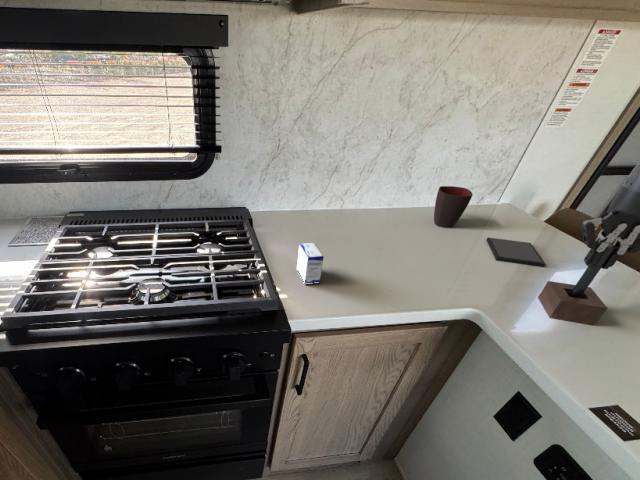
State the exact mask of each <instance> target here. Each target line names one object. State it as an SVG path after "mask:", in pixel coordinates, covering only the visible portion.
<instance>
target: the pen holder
mask: <svg viewBox="0 0 640 480" xmlns="http://www.w3.org/2000/svg"><path fill="white" fill-rule="evenodd" d="M575 285H576V284H573V283H566V282H565V283H564V282H557V281H553V280H547V281H546V283H545V285H544V287H543V288H542V289H541V291H540V293H539V294H538V296H537V299H538V300H539V302H540V304H541V305H542V307H543V309H544V311H545V313H546V315H547V316H548V318H549V319H554V320H561V321H567V322H573V323H577V324H584V325H590V326H595V325H596V324H597V323H598V321H599V320H600V319H601V318H602V316H603V315H604V314H605V313H606V311H607V310H608V307H607V305H606V304H605V303H604V302H603V300H602V299H601V298H600V297H599V295H598V294H597V293H596V292H595V290H594V289H593V288H592V287H591V286H588V288H587V289H586V290H585V292H584V293H583V295H582V296H581V297H580V298H574V297H569V294H570V293H571V291H572V290H573V288H574V287H575Z"/></svg>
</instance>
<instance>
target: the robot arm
mask: <svg viewBox="0 0 640 480" xmlns="http://www.w3.org/2000/svg"><path fill="white" fill-rule="evenodd" d="M599 226H600V227H601V230H600V231H599V233H598V234H597V238H596V231H597V230H598V229H599ZM581 231H582V241H583V244H584V245H586V246H587V248H589V250H588V253H586V255H585V256H584V258H583V262H584V264H585V265H586V267H587V268H588V267H593V266H594V265H595V264H596V262H597V261H598V259H599V258H600V256H601V255H602V254H603V253H602V252H603V251H604V250H605V249H606V247H607V246H608V245H609V244H612V243H613V244H612V245H614V246H615V247H616V248H615V250H614V251H613V253H612V254H611V255H610V257H609V258H608V260H607V261H606V262H605V264H604V265H603V267H602V268H601V269H602V270H608V269H609V268H612V267H613V266H614V265H615V263H616V262H617V261H618V260H619V259H620V257H621V256H622V255H624V254H628V253H629V254H636V253H638V252H640V161H639V162H638V163H637V164H636V166H635V167H634V168H633V169H632V170H631V172H630V173H629V175H628V176H627V177H626V179H625V180H624V182H623V184H622V185H621V187H620V189H619V190H618V191H617V193H616V195H615V196H614V197H613V200H612V201H611V203H610V204H609V207H608V209H607V210H606V211H605V212H604V213H602V214H601V215H600V216H599V217H596V218H591V219H589V218H584V219H582V220H581Z"/></svg>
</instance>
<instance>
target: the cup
mask: <svg viewBox="0 0 640 480" xmlns="http://www.w3.org/2000/svg"><path fill="white" fill-rule="evenodd" d="M473 195H474V194H473V192H472V191H471V190H470V189H468V188H466V187H461V186H452V185H451V186H450V185H442V186H441V185H440V187H439V188H438V190H437V194H436V197H435V204H434V211H433V223H434V225H435V226H437V227H439V228H446V229H447V228H449V229H451V228H453V227H454V226H455V225H456V224H457V223H458V221H459V220H460V218H462V215H463V214H464V212H465V211H466V209H467V207H468V206H469V204H470V202H471V200H472V197H473Z"/></svg>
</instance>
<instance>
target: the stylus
mask: <svg viewBox="0 0 640 480" xmlns="http://www.w3.org/2000/svg"><path fill="white" fill-rule="evenodd" d="M615 248H616V247H615V246H614V245H613V244H612V243H610V244H609V245H608V246H607V247H606V249H605V250H604V251H603V252H602V253H603V254H602V255H601V256H600V258H599V259H598V261H597V262H596V264H595V265H594V266H593V267H588V266H587V268H586V269H585V271H584V272H583V273H582V275H581V277H580V278H579V279H578V281H577V282H576V284H574V285H575V287H574V288H573V290H572V291H571V293H570V294H569V297H574V298H580V297H581V296H582V295H583V293H584V292H585V290H586V289H587V288H588V287H590V285H591V284H592V282H593V281H594V280H595V278H596V277H597V275H598V274H599V273H600V271H601V269H602V267H603V265H604V264H605V262H606V261H607V260H608V258H609V257H610V255H611V254H612V253H613V251H614V250H615Z"/></svg>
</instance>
